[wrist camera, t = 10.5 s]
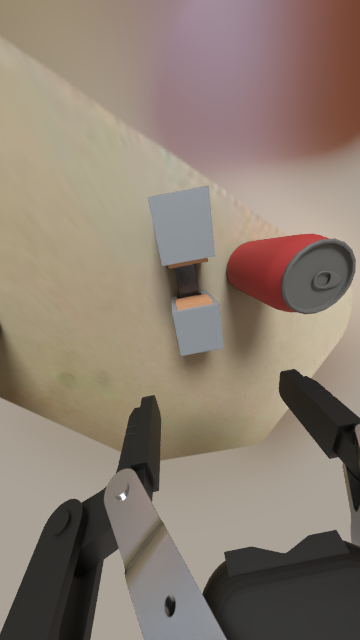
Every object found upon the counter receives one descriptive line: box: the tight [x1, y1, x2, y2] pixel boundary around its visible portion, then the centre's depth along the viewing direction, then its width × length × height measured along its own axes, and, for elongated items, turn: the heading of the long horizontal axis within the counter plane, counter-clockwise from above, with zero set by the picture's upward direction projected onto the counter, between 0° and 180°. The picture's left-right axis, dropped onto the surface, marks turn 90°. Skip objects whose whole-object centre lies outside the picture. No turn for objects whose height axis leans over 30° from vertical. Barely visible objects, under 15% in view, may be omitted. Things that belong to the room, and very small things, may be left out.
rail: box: [175, 264, 198, 298], centre depth 23 cm, size 2×16×2 cm, turn 10°
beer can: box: [227, 234, 356, 314], centre depth 18 cm, size 7×7×12 cm
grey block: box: [171, 291, 223, 356], centre depth 22 cm, size 5×6×7 cm
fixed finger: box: [148, 186, 215, 269], centre depth 18 cm, size 5×6×7 cm
